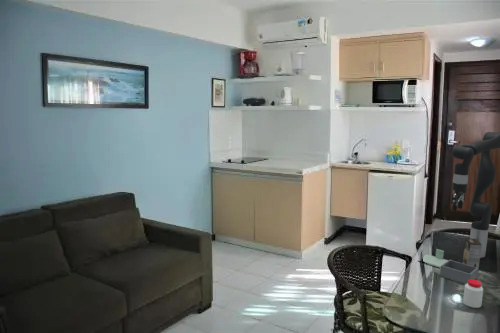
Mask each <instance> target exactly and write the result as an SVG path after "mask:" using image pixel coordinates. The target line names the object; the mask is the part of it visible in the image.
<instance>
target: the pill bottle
mask: <svg viewBox="0 0 500 333" xmlns="http://www.w3.org/2000/svg"><path fill="white" fill-rule="evenodd" d="M463 290H464V291H463V298H462V302H463V304H464V305H465V306H468V307H469V308H472V309H473V308H475V309H476V308H477V309H478V308H481V307H482V302H483V296H484V295H483V294H484V287H483V286H482V282H481V281H479V280H478V279H476V280H473V279H470V280H468V283H467V284H464V289H463Z"/></svg>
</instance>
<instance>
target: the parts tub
mask: <svg viewBox="0 0 500 333" xmlns="http://www.w3.org/2000/svg"><path fill="white" fill-rule="evenodd" d="M447 260H448V259H447ZM478 275H479V269H478V268H477V267H474V266H470V265H467V264H463V262H460V261H455V260H452V259H449V260H448V261H447V262H445V263H444V264H443V265H441V268H440V271H439V277H441V278H444V279H448V280H452V281H454V282H457V283H460V284H463V285H465V284H467V283H468V280H470V279H473V280H478Z"/></svg>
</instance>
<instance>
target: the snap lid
mask: <svg viewBox="0 0 500 333" xmlns="http://www.w3.org/2000/svg"><path fill="white" fill-rule="evenodd" d="M444 253H445V251H444V250H443V249H438V248H436V249H435V256H434V255H430V254H424V255H423V256H424V257H423V256H422V257H423V261H424V262H425V263H424V264H426V263H427V264H426V265H429V266H432V267H436V268H439V269H441V265H443V264H444V263H445V262H447V261H448V259H445V258H444Z"/></svg>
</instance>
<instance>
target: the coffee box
mask: <svg viewBox="0 0 500 333" xmlns="http://www.w3.org/2000/svg"><path fill="white" fill-rule="evenodd" d="M481 246H482V244H481V243H480V242H479V241H478V240H477V239H471V238H470V237H469V238H468V237H466V238H465V239H464V249H463V256H462V263H463V264H467V265H470V266H474V267H477V268H478V270H479V267H480V260H481V258H480V253H481Z"/></svg>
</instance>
